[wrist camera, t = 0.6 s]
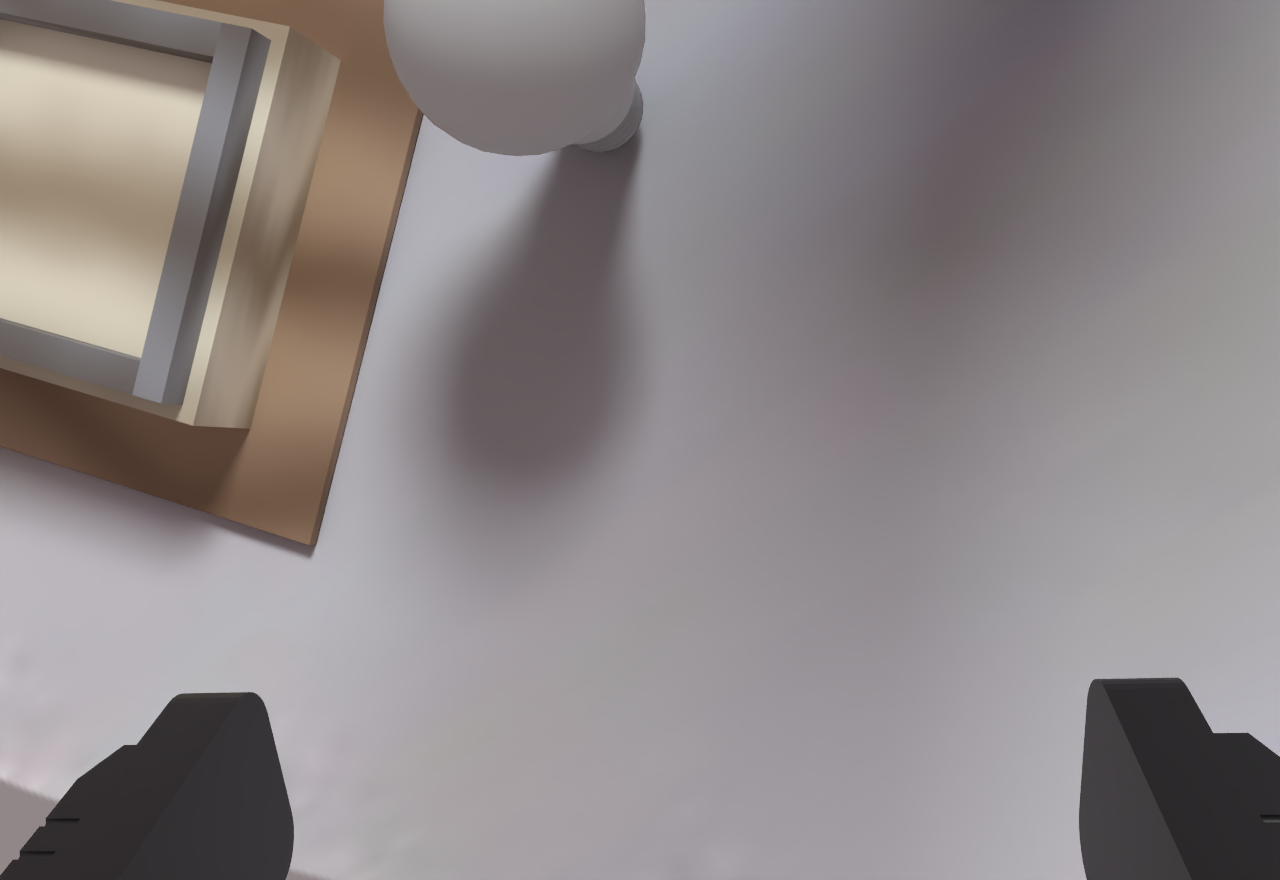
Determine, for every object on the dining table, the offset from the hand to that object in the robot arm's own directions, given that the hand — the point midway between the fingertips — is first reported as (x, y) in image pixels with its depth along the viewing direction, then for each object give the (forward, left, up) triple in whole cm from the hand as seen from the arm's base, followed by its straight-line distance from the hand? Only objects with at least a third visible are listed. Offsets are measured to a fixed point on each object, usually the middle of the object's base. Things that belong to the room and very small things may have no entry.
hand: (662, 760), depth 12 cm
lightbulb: (-11, -10, -23) cm, 28 cm away
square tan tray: (-5, -25, -23) cm, 35 cm away
